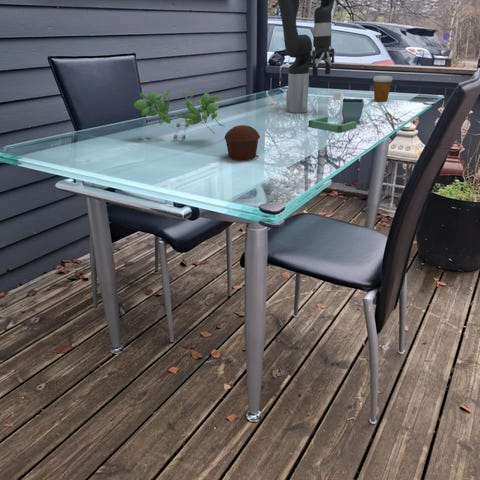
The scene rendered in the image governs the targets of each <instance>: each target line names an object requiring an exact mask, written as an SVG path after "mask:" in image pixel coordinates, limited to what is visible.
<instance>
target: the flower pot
mask: <svg viewBox="0 0 480 480" xmlns="http://www.w3.org/2000/svg"><path fill="white" fill-rule="evenodd" d="M364 104H365V101H364V99H363V98H343V106H342V119H343V122H344V124H345V123H349V122H353V121H355V122H357V124H358V123H359V122H360V120H361V118H362V114H363V111H364V106H365V105H364Z"/></svg>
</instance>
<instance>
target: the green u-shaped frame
mask: <svg viewBox="0 0 480 480" xmlns="http://www.w3.org/2000/svg"><path fill="white" fill-rule="evenodd" d="M332 93H333V95H332V99H333V100H335V101H340V108H339V121H338V122H339V123H338V124H335V123H331V122H329V120H328V119H329V116H321V117H318V118H313V119H309V120H308V125H307V127H308V128H309V127H310V128H314V129H318V130H319V129H320V130H324V131H329V132H335V133H339V132H341V133H344V132H347V131H348V132H349V131H350V130H351V131H352V130H355V129H357V124H358V123H357V122H355V121H353V122H349V123H345V122H344V123H342V119H343V116H342V106H343V99H344V93H340V92H332Z"/></svg>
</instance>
